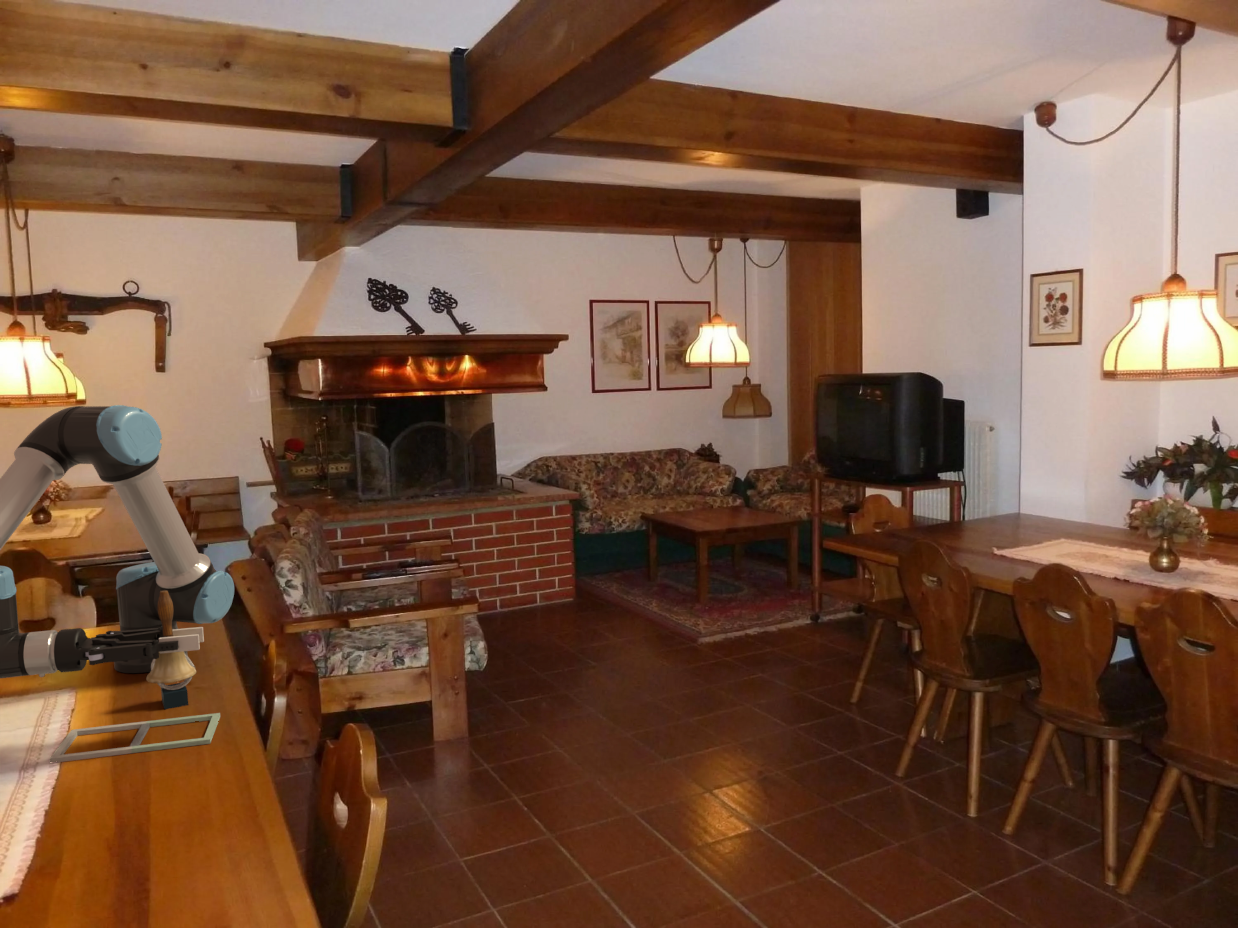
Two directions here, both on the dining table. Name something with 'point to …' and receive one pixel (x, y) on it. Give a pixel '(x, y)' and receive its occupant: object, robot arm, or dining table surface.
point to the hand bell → (173, 663)
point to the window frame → (136, 742)
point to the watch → (174, 691)
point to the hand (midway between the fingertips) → (200, 638)
